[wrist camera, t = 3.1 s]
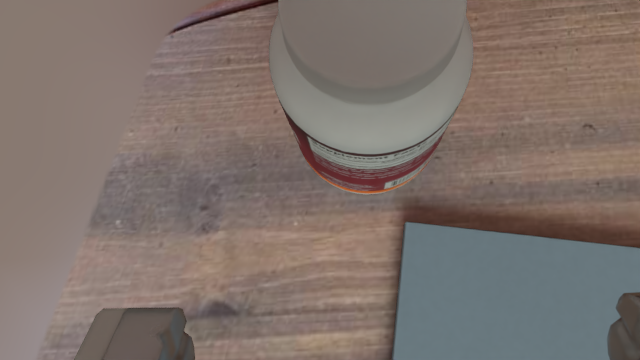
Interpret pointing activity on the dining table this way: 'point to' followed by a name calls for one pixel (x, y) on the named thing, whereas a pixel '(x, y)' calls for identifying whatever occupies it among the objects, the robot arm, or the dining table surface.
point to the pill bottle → (370, 84)
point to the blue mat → (507, 295)
